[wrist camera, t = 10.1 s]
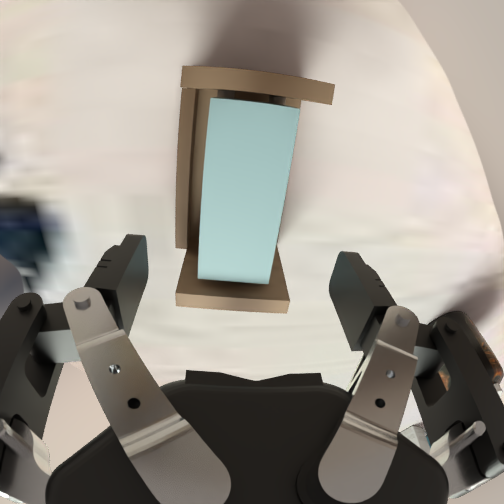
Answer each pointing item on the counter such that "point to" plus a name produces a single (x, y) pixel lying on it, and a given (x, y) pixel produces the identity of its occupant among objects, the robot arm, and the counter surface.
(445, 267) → the counter surface
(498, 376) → the jar
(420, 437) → the supplement box
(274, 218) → the light teal block
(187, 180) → the shelf rack
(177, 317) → the counter surface
